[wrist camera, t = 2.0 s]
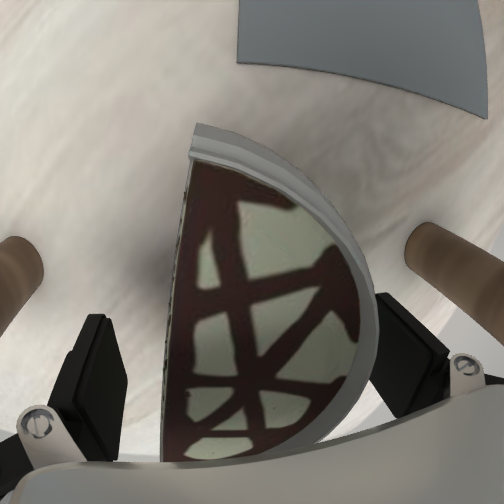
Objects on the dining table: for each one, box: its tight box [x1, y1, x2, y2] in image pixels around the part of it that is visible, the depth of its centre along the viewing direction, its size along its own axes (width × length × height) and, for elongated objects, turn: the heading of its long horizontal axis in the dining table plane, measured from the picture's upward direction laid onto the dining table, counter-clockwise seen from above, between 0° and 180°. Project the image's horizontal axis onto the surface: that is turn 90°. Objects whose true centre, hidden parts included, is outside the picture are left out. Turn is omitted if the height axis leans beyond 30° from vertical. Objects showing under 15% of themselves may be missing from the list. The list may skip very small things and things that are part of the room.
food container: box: [160, 123, 379, 462], centre depth 12 cm, size 12×6×10 cm, turn 167°
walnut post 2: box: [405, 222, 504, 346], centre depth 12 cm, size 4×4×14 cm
